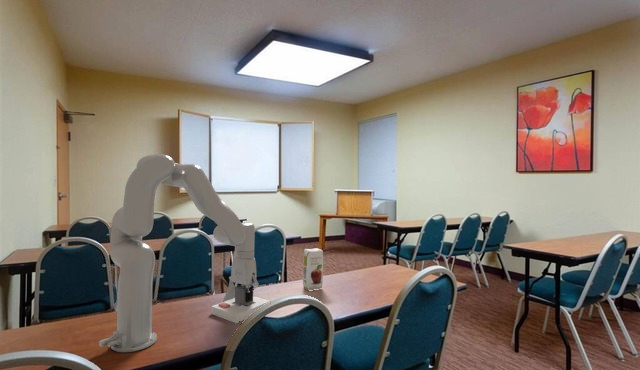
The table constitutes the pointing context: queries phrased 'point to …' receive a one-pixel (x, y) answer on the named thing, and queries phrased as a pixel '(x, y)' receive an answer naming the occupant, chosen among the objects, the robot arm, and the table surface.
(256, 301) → the socket plate
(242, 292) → the plug
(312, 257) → the juice carton
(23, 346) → the table surface
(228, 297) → the flask
